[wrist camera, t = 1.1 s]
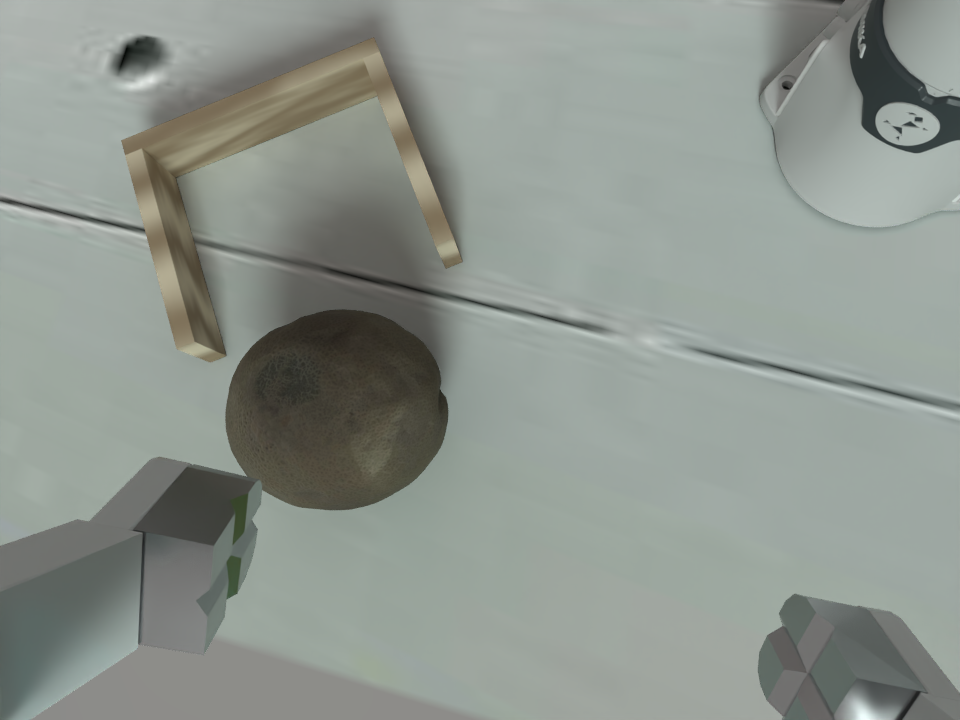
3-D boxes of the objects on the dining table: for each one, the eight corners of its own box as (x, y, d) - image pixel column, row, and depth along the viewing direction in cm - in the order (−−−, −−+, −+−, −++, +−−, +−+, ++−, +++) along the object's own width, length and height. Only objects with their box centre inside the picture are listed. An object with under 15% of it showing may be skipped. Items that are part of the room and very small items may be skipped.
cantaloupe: (346, 309, 54) (270, 239, 39) (491, 388, 51) (468, 343, 37) (256, 457, 52) (141, 440, 38) (402, 547, 49) (340, 567, 35)
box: (462, 262, 54) (453, 238, 49) (210, 362, 54) (176, 348, 49) (388, 75, 58) (373, 37, 54) (156, 170, 59) (121, 140, 54)
